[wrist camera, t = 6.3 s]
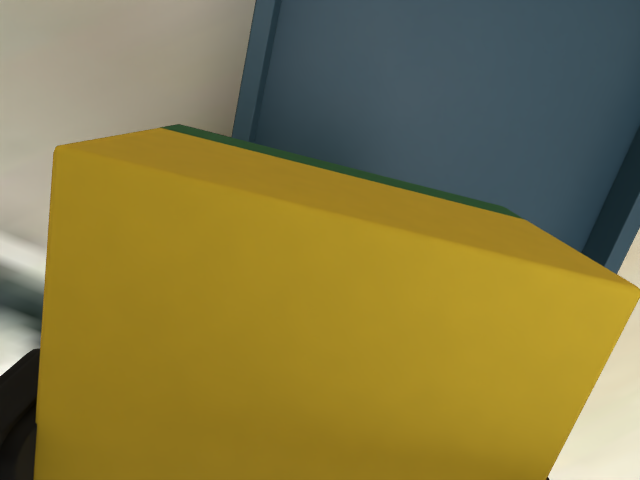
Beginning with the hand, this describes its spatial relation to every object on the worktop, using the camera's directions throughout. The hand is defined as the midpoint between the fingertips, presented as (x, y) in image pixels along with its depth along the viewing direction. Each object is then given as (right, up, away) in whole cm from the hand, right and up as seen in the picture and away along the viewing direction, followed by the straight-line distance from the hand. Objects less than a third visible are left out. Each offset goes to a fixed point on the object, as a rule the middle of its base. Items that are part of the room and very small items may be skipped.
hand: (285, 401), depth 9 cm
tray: (+6, +7, +14) cm, 17 cm away
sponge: (0, 0, +1) cm, 1 cm away
